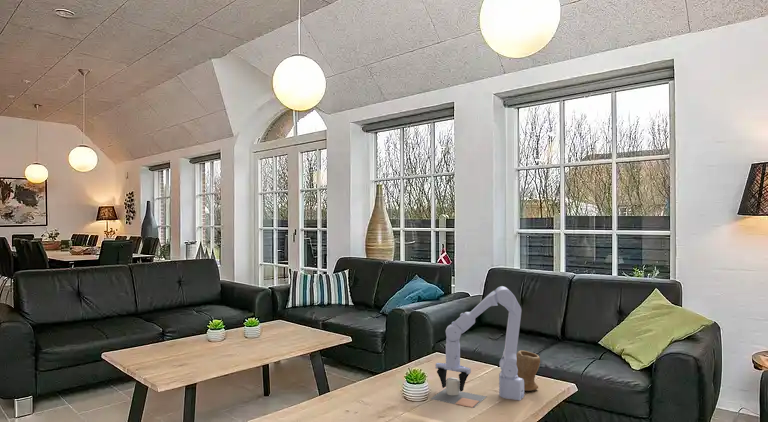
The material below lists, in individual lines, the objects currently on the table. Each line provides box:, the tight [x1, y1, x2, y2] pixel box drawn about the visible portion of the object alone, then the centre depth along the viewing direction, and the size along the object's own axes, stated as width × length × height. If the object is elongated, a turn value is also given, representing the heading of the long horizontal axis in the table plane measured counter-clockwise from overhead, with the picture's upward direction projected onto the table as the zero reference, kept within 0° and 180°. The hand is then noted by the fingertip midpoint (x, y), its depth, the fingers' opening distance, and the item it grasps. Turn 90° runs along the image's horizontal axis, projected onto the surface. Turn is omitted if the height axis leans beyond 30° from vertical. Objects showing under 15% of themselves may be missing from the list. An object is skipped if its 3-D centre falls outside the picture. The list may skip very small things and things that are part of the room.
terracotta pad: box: [454, 398, 480, 409], centre depth 195 cm, size 7×7×1 cm
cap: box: [445, 376, 460, 395], centre depth 206 cm, size 5×5×6 cm
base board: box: [430, 387, 487, 409], centre depth 201 cm, size 18×14×1 cm
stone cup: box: [516, 349, 541, 392], centre depth 217 cm, size 15×12×15 cm
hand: (452, 388), depth 206 cm, fingers open, 7 cm apart
